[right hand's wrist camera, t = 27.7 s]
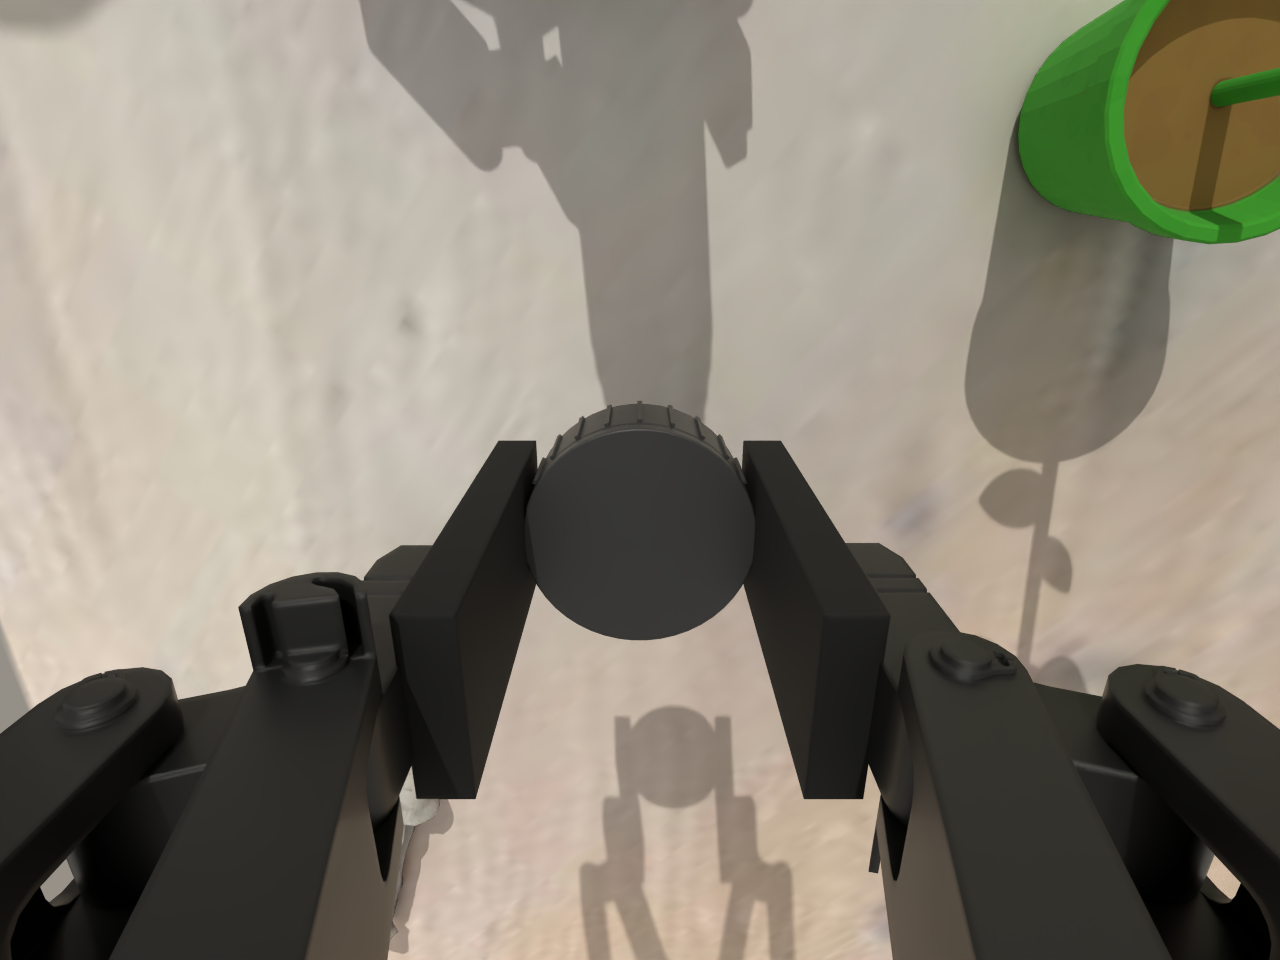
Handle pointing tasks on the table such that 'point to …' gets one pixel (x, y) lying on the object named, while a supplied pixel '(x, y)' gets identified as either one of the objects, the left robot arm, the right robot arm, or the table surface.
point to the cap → (639, 523)
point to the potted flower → (1163, 119)
